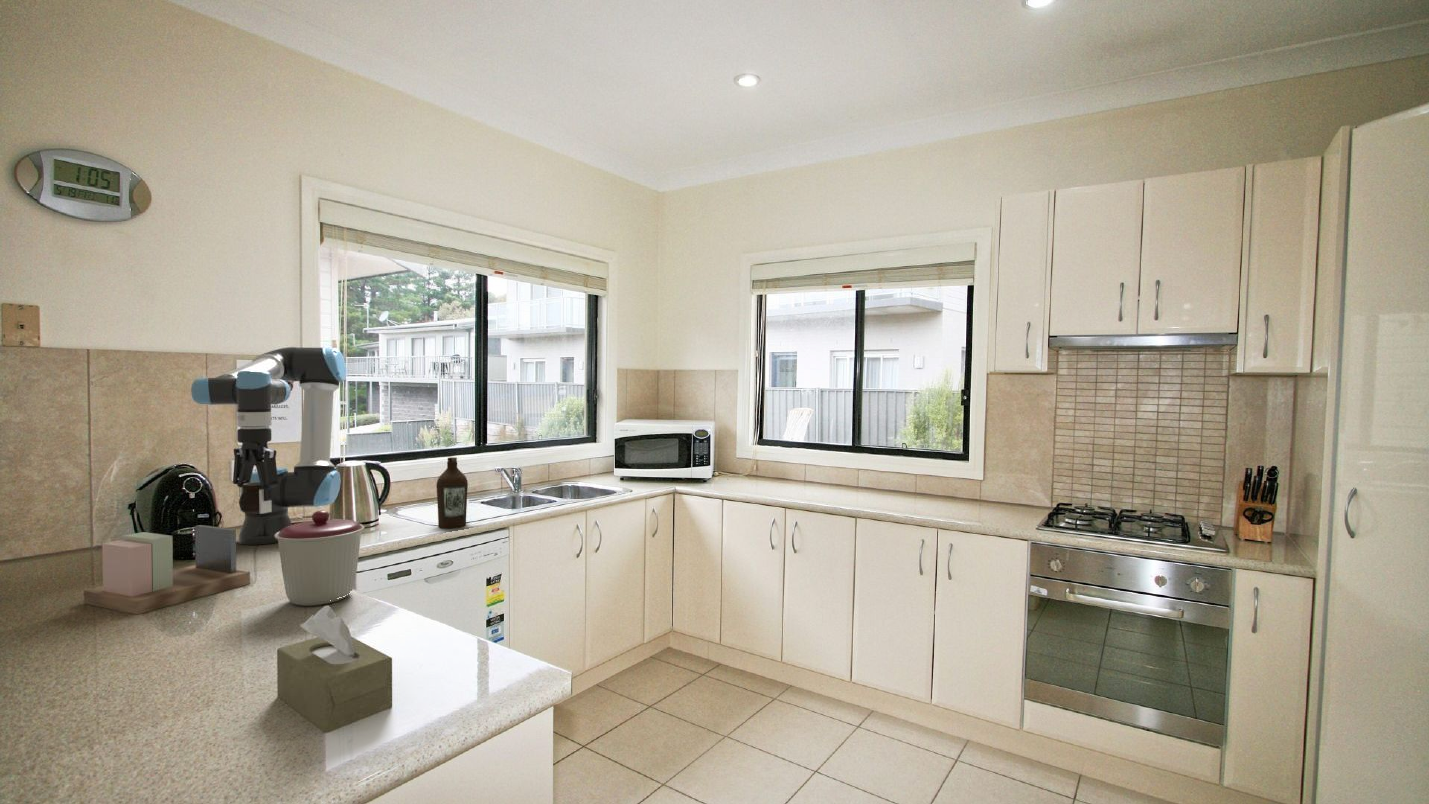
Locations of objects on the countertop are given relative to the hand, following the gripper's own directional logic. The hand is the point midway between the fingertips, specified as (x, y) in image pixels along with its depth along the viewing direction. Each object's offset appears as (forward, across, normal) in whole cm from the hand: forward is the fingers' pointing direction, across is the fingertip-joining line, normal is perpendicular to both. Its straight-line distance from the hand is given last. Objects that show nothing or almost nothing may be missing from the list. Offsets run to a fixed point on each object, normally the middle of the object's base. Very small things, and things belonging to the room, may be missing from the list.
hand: (255, 511), depth 174 cm
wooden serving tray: (+16, 0, -20) cm, 26 cm away
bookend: (+13, 0, -10) cm, 17 cm away
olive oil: (+17, +6, +66) cm, 68 cm away
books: (+13, 0, -27) cm, 30 cm away
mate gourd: (0, 0, 0) cm, 0 cm away
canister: (+16, +38, -10) cm, 43 cm away
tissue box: (+16, +86, -45) cm, 98 cm away
